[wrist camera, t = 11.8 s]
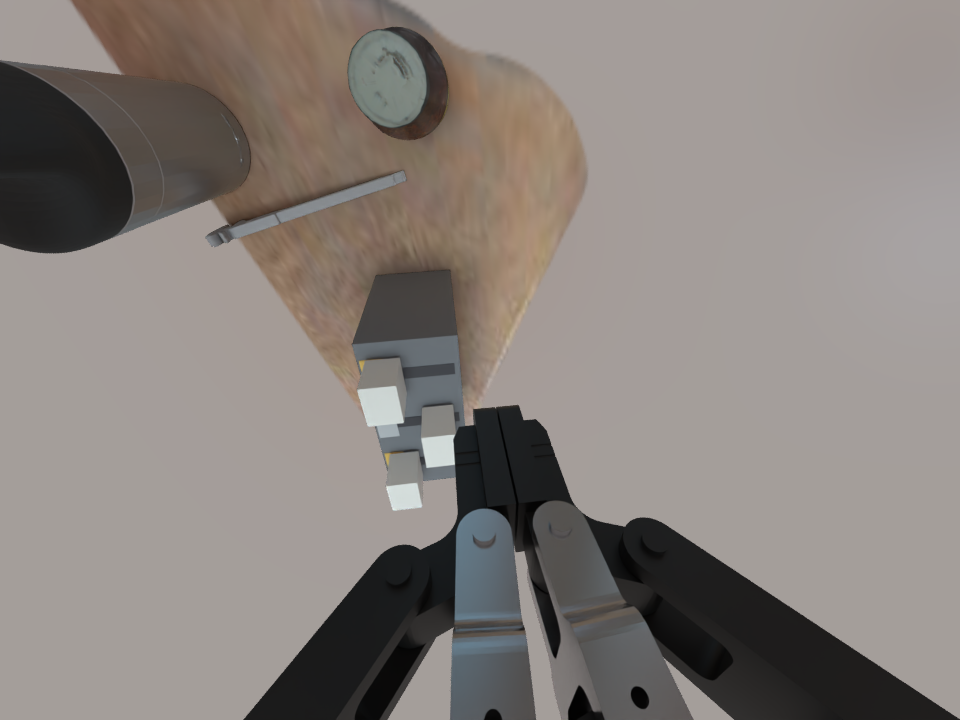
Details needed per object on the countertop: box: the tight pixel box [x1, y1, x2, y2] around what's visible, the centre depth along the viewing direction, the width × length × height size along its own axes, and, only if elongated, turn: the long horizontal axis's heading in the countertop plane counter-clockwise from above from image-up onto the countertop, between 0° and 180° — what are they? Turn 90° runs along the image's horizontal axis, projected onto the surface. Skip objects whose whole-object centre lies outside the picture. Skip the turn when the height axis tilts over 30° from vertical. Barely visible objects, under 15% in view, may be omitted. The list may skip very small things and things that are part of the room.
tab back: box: [386, 451, 423, 511], centre depth 38 cm, size 3×4×4 cm
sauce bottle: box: [348, 27, 449, 140], centre depth 26 cm, size 7×6×20 cm
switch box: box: [352, 270, 465, 481], centre depth 43 cm, size 9×19×16 cm, turn 2°
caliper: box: [206, 170, 407, 247], centre depth 36 cm, size 20×1×6 cm, turn 105°
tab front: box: [357, 358, 407, 427], centre depth 31 cm, size 3×4×4 cm
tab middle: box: [421, 405, 456, 468], centre depth 35 cm, size 3×4×4 cm
